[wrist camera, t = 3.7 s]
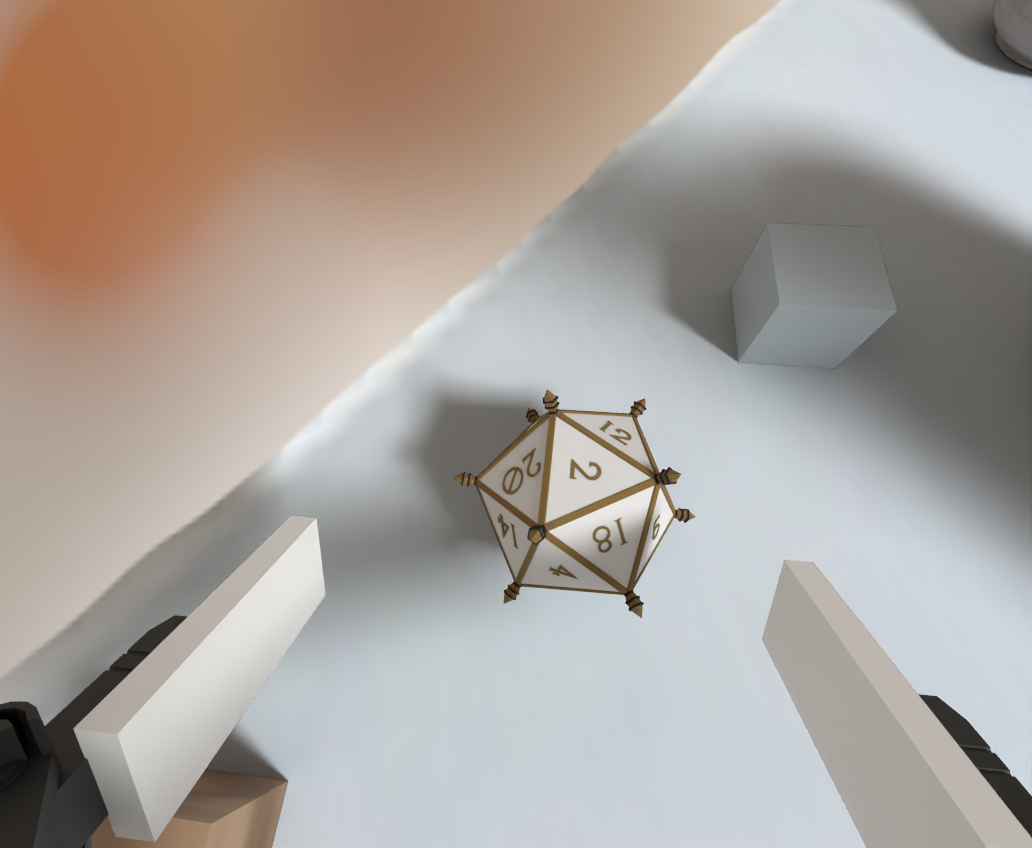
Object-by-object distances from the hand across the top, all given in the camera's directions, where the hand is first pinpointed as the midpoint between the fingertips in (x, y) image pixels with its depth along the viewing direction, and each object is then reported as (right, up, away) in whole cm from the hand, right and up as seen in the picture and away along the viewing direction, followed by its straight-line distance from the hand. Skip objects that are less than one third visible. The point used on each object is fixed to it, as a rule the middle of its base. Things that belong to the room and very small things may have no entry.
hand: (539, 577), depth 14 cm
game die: (+2, 0, +9) cm, 10 cm away
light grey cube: (+14, +10, +13) cm, 22 cm away
